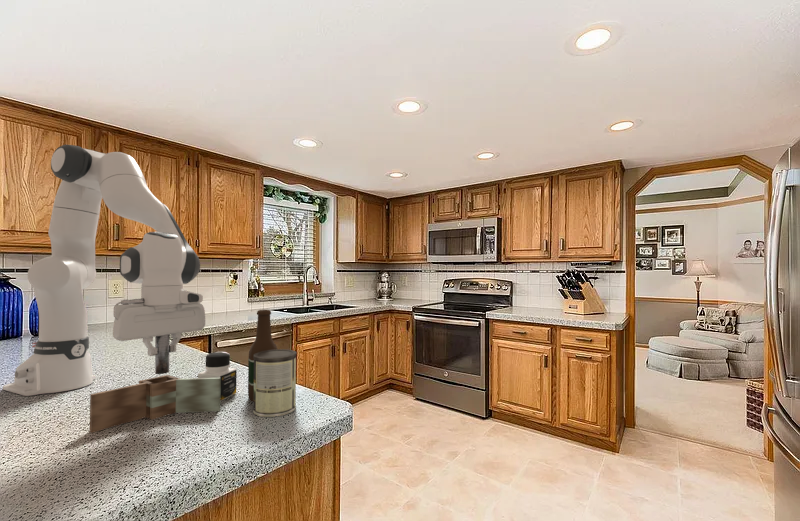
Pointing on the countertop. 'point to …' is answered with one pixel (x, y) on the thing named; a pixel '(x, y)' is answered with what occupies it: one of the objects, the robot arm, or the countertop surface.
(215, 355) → the medicine bottle
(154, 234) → the robot arm
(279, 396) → the coffee can
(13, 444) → the countertop surface
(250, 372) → the beer bottle
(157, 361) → the hinge pin
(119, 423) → the stand
